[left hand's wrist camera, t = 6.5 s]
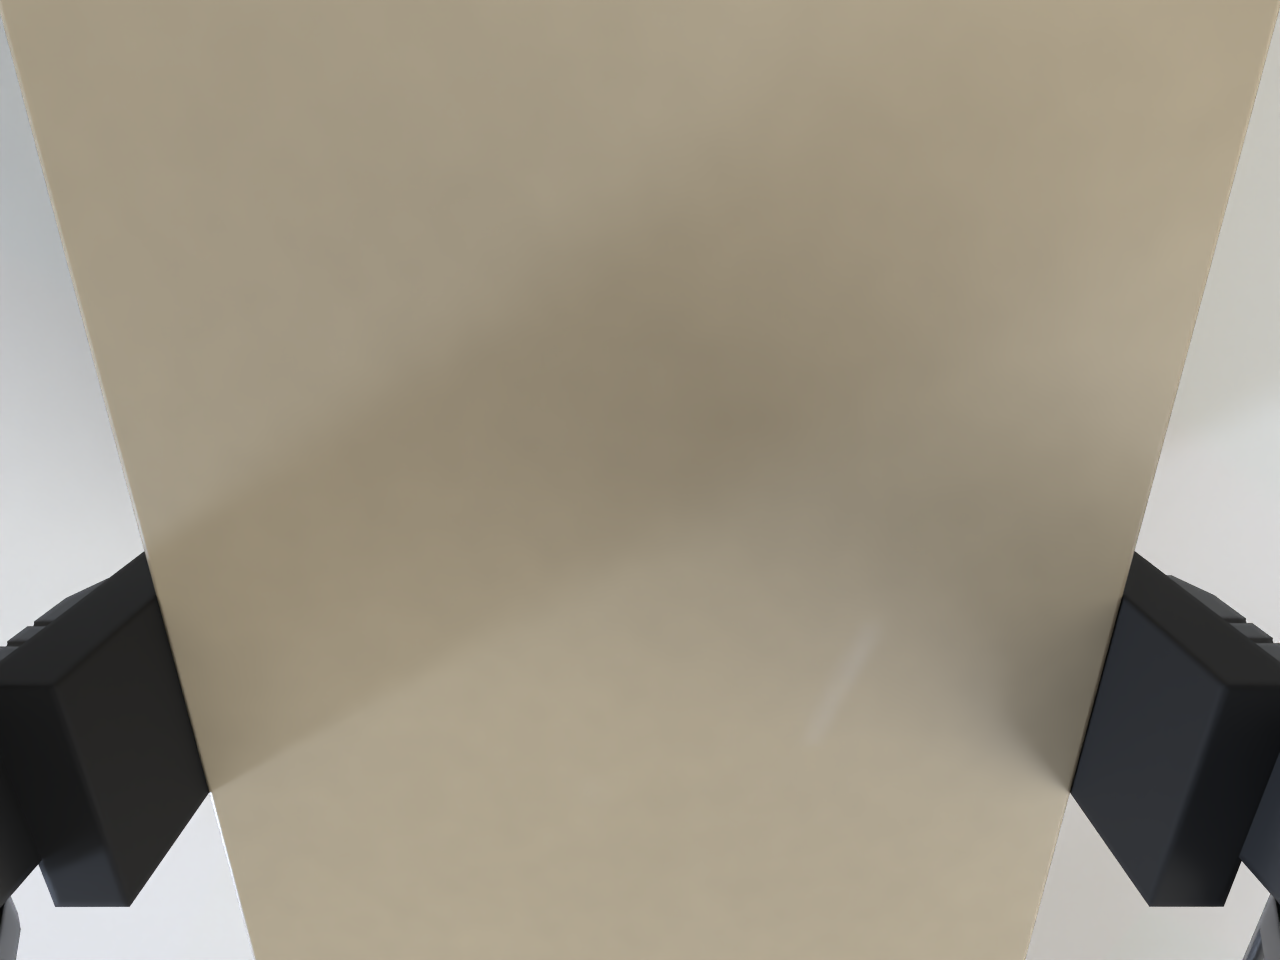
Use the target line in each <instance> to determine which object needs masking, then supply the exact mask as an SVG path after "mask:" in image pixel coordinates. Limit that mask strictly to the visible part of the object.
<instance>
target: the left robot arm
mask: <svg viewBox="0 0 1280 960" xmlns="http://www.w3.org/2000/svg"><path fill="white" fill-rule="evenodd" d="M1272 640H1273V638H1272V637H1270V636H1269V635H1268V634H1266V633H1265V632H1264V631H1262V630H1261V629H1259V628H1258V627H1257V626H1255V625H1254V624H1253V623H1246V618H1244V617H1243V616H1242V615H1240V614H1239V613H1238V612H1236V611H1235V610H1234V609H1232V608H1231V607H1229V606H1228V605H1227V604H1225V603H1224V602H1223V601H1221V600H1220V599H1219V598H1217V597H1216V596H1214V595H1213V594H1210V593H1208V592H1206V591H1204V590H1202V589H1200V588H1197V587H1195V586H1193V585H1191V584H1189V583H1187V582H1185V581H1182V580H1180V579H1178V578H1176V577H1174V576H1172V575H1165V574H1164V573H1163V572H1161V571H1160V570H1159V569H1157V568H1156V567H1155V566H1153V565H1152V564H1151V563H1149V562H1148V561H1147V560H1146V559H1144V558H1143V557H1142V556H1140V555H1139V554H1138V553H1136V552H1135V551H1134V554H1133V558H1132V562H1131V565H1130V569H1129V573H1128V577H1127V580H1126V584H1125V588H1124V592H1123V595H1122V599H1121V603H1120V606H1119V610H1118V614H1117V618H1116V621H1115V625H1114V629H1113V633H1112V636H1111V640H1110V644H1109V648H1108V651H1107V655H1106V659H1105V663H1104V666H1103V670H1102V674H1101V678H1100V681H1099V685H1098V689H1097V693H1096V696H1095V700H1094V704H1093V707H1092V711H1091V715H1090V719H1089V722H1088V726H1087V730H1086V734H1085V737H1084V741H1083V745H1082V749H1081V752H1080V756H1079V760H1078V764H1077V767H1076V771H1075V775H1074V779H1073V782H1072V786H1071V790H1070V793H1071V795H1072V796H1073V797H1074V799H1075V800H1076V802H1077V803H1078V805H1079V806H1080V807H1081V809H1082V810H1083V812H1084V813H1085V815H1086V816H1087V817H1088V819H1089V820H1090V822H1091V823H1092V825H1093V826H1094V828H1095V829H1096V830H1097V832H1098V833H1099V835H1100V836H1101V838H1102V839H1103V840H1104V842H1105V843H1106V845H1107V846H1108V848H1109V849H1110V851H1111V852H1112V853H1113V855H1114V856H1115V858H1116V859H1117V861H1118V862H1119V863H1120V865H1121V866H1122V868H1123V869H1124V871H1125V872H1126V874H1127V875H1128V876H1129V878H1130V879H1131V881H1132V882H1133V884H1134V885H1135V886H1136V888H1137V889H1138V891H1139V892H1140V894H1141V895H1142V897H1143V898H1144V899H1145V901H1146V902H1147V904H1148V905H1149V907H1224V904H1225V902H1226V899H1227V897H1228V894H1229V892H1230V889H1231V887H1232V884H1233V881H1234V879H1235V876H1236V874H1237V871H1238V869H1239V866H1240V864H1241V861H1242V862H1243V863H1244V864H1245V865H1246V866H1247V867H1248V868H1249V870H1250V871H1251V872H1252V873H1253V874H1254V875H1255V876H1256V878H1257V879H1258V880H1259V881H1260V882H1261V883H1262V884H1263V886H1264V887H1265V888H1266V889H1267V890H1268V891H1269V892H1270V893H1271V894H1270V896H1269V898H1268V901H1267V903H1266V905H1265V908H1264V910H1263V913H1262V915H1261V917H1260V920H1259V922H1258V924H1257V927H1256V929H1255V932H1254V934H1253V936H1252V939H1251V941H1250V943H1249V946H1248V948H1247V951H1246V953H1245V955H1244V958H1243V960H1280V643H1273V641H1272ZM208 793H209V789H208V786H207V782H206V778H205V775H204V771H203V767H202V763H201V760H200V756H199V752H198V748H197V745H196V741H195V737H194V734H193V730H192V726H191V722H190V719H189V715H188V711H187V707H186V704H185V700H184V696H183V693H182V689H181V685H180V681H179V678H178V674H177V670H176V666H175V663H174V659H173V655H172V652H171V648H170V644H169V640H168V637H167V633H166V629H165V625H164V622H163V618H162V614H161V611H160V607H159V603H158V599H157V596H156V592H155V588H154V584H153V581H152V577H151V573H150V570H149V566H148V562H147V558H146V555H145V551H144V552H143V553H141V554H140V555H139V556H138V557H136V558H135V559H134V560H132V561H131V562H130V563H128V564H127V565H126V566H124V567H123V568H122V569H120V570H119V571H118V572H116V573H115V574H114V575H113V576H111V577H110V578H108V579H106V580H103V581H101V582H99V583H97V584H95V585H93V586H91V587H89V588H86V589H84V590H82V591H80V592H78V593H76V594H74V595H72V596H69V597H67V598H65V599H64V600H63V601H61V602H60V603H59V604H57V605H56V606H55V607H53V608H52V609H50V610H49V611H48V612H46V613H45V614H44V615H42V616H41V617H40V618H38V619H37V620H36V621H34V626H27V627H26V628H25V629H23V630H22V631H21V632H19V633H18V634H17V635H15V636H14V637H13V638H11V639H10V640H9V641H7V646H6V647H0V960H16V955H17V949H18V943H19V937H20V930H21V929H20V923H19V917H18V913H17V910H16V908H15V905H14V903H13V901H12V898H11V895H12V894H13V893H14V891H15V890H16V889H17V888H18V887H19V886H20V884H21V883H22V882H23V881H24V880H25V879H26V878H27V876H28V875H29V874H30V873H31V872H32V871H33V870H34V868H35V867H36V866H37V865H38V864H39V867H40V869H41V872H42V874H43V877H44V879H45V882H46V884H47V887H48V889H49V892H50V894H51V897H52V900H53V902H54V905H55V907H130V905H131V904H132V903H133V901H134V900H135V898H136V897H137V895H138V894H139V892H140V891H141V890H142V888H143V887H144V885H145V884H146V882H147V881H148V880H149V878H150V877H151V875H152V874H153V872H154V871H155V869H156V868H157V867H158V865H159V864H160V862H161V861H162V859H163V858H164V857H165V855H166V854H167V852H168V851H169V849H170V848H171V846H172V845H173V844H174V842H175V841H176V839H177V838H178V836H179V835H180V834H181V832H182V831H183V829H184V828H185V826H186V825H187V823H188V822H189V821H190V819H191V818H192V816H193V815H194V813H195V812H196V811H197V809H198V808H199V806H200V805H201V803H202V802H203V801H204V799H205V798H206V796H207V795H208Z"/></svg>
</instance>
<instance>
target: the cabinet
mask: <svg viewBox="0 0 1280 960" xmlns="http://www.w3.org/2000/svg"><path fill="white" fill-rule="evenodd" d="M1279 8H1280V0H0V14H1V18H2V21H3V25H4V29H5V33H6V36H7V40H8V44H9V48H10V51H11V55H12V59H13V62H14V66H15V70H16V74H17V77H18V81H19V85H20V89H21V92H22V96H23V100H24V103H25V107H26V111H27V115H28V118H29V122H30V126H31V130H32V133H33V137H34V141H35V144H36V148H37V152H38V156H39V159H40V163H41V167H42V171H43V174H44V178H45V182H46V186H47V189H48V193H49V197H50V200H51V204H52V208H53V212H54V215H55V219H56V223H57V227H58V230H59V234H60V238H61V241H62V245H63V249H64V253H65V256H66V260H67V264H68V268H69V271H70V275H71V279H72V282H73V286H74V290H75V294H76V297H77V301H78V305H79V309H80V312H81V316H82V320H83V323H84V327H85V331H86V335H87V338H88V342H89V346H90V350H91V353H92V357H93V361H94V364H95V368H96V372H97V376H98V379H99V383H100V387H101V391H102V394H103V398H104V402H105V405H106V409H107V413H108V417H109V420H110V424H111V428H112V432H113V435H114V439H115V443H116V446H117V450H118V454H119V458H120V461H121V465H122V469H123V473H124V476H125V480H126V484H127V487H128V491H129V495H130V499H131V502H132V506H133V510H134V514H135V517H136V521H137V525H138V529H139V532H140V536H141V540H142V543H143V547H144V551H145V555H146V558H147V562H148V566H149V570H150V573H151V577H152V581H153V584H154V588H155V592H156V596H157V599H158V603H159V607H160V611H161V614H162V618H163V622H164V625H165V629H166V633H167V637H168V640H169V644H170V648H171V652H172V655H173V659H174V663H175V666H176V670H177V674H178V678H179V681H180V685H181V689H182V693H183V696H184V700H185V704H186V707H187V711H188V715H189V719H190V722H191V726H192V730H193V734H194V737H195V741H196V745H197V748H198V752H199V756H200V760H201V763H202V767H203V771H204V775H205V778H206V782H207V786H208V789H209V793H210V797H211V801H212V804H213V808H214V812H215V816H216V819H217V823H218V827H219V830H220V834H221V838H222V842H223V845H224V849H225V853H226V857H227V860H228V864H229V868H230V872H231V875H232V879H233V883H234V886H235V890H236V894H237V898H238V901H239V905H240V909H241V913H242V916H243V920H244V924H245V927H246V931H247V935H248V939H249V942H250V946H251V950H252V954H253V957H254V960H1025V958H1026V954H1027V951H1028V947H1029V943H1030V939H1031V936H1032V932H1033V928H1034V924H1035V921H1036V917H1037V913H1038V909H1039V906H1040V902H1041V898H1042V894H1043V891H1044V887H1045V883H1046V880H1047V876H1048V872H1049V868H1050V865H1051V861H1052V857H1053V853H1054V850H1055V846H1056V842H1057V838H1058V835H1059V831H1060V827H1061V823H1062V820H1063V816H1064V812H1065V808H1066V805H1067V801H1068V797H1069V794H1070V790H1071V786H1072V782H1073V779H1074V775H1075V771H1076V767H1077V764H1078V760H1079V756H1080V752H1081V749H1082V745H1083V741H1084V737H1085V734H1086V730H1087V726H1088V722H1089V719H1090V715H1091V711H1092V707H1093V704H1094V700H1095V696H1096V693H1097V689H1098V685H1099V681H1100V678H1101V674H1102V670H1103V666H1104V663H1105V659H1106V655H1107V651H1108V648H1109V644H1110V640H1111V636H1112V633H1113V629H1114V625H1115V621H1116V618H1117V614H1118V610H1119V606H1120V603H1121V599H1122V595H1123V592H1124V588H1125V584H1126V580H1127V577H1128V573H1129V569H1130V565H1131V562H1132V558H1133V554H1134V550H1135V547H1136V543H1137V539H1138V535H1139V532H1140V528H1141V524H1142V520H1143V517H1144V513H1145V509H1146V506H1147V502H1148V498H1149V494H1150V491H1151V487H1152V483H1153V479H1154V476H1155V472H1156V468H1157V464H1158V461H1159V457H1160V453H1161V449H1162V446H1163V442H1164V438H1165V434H1166V431H1167V427H1168V423H1169V419H1170V416H1171V412H1172V408H1173V405H1174V401H1175V397H1176V393H1177V390H1178V386H1179V382H1180V378H1181V375H1182V371H1183V367H1184V363H1185V360H1186V356H1187V352H1188V348H1189V345H1190V341H1191V337H1192V333H1193V330H1194V326H1195V322H1196V319H1197V315H1198V311H1199V307H1200V304H1201V300H1202V296H1203V292H1204V289H1205V285H1206V281H1207V277H1208V274H1209V270H1210V266H1211V262H1212V259H1213V255H1214V251H1215V247H1216V244H1217V240H1218V236H1219V232H1220V229H1221V225H1222V221H1223V218H1224V214H1225V210H1226V206H1227V203H1228V199H1229V195H1230V191H1231V188H1232V184H1233V180H1234V176H1235V173H1236V169H1237V165H1238V161H1239V158H1240V154H1241V150H1242V146H1243V143H1244V139H1245V135H1246V132H1247V128H1248V124H1249V120H1250V117H1251V113H1252V109H1253V105H1254V102H1255V98H1256V94H1257V90H1258V87H1259V83H1260V79H1261V75H1262V72H1263V68H1264V64H1265V60H1266V57H1267V53H1268V49H1269V45H1270V42H1271V38H1272V34H1273V31H1274V27H1275V23H1276V19H1277V16H1278V12H1279Z"/></svg>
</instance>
